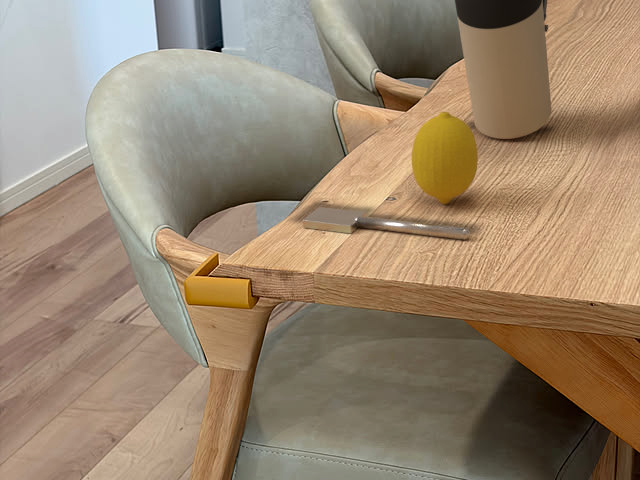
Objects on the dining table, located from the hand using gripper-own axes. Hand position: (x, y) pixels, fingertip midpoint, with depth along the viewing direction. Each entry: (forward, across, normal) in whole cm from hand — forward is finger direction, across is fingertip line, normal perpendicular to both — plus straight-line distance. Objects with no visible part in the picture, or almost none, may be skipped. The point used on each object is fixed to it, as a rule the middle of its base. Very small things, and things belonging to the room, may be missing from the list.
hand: (522, 96), depth 98 cm
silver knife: (+2, +34, -2) cm, 34 cm away
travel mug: (+1, +4, 0) cm, 4 cm away
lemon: (+3, +26, 0) cm, 27 cm away
